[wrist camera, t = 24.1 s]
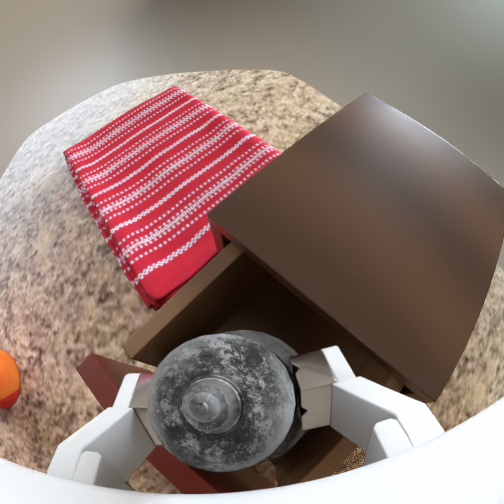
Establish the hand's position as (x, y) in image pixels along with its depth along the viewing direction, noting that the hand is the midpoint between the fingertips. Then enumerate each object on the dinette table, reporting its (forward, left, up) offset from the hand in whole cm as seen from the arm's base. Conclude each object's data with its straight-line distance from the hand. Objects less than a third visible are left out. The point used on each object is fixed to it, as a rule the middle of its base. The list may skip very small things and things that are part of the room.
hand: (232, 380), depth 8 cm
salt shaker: (0, -1, -7) cm, 7 cm away
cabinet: (+11, 0, -11) cm, 16 cm away
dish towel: (+8, +18, -11) cm, 23 cm away
